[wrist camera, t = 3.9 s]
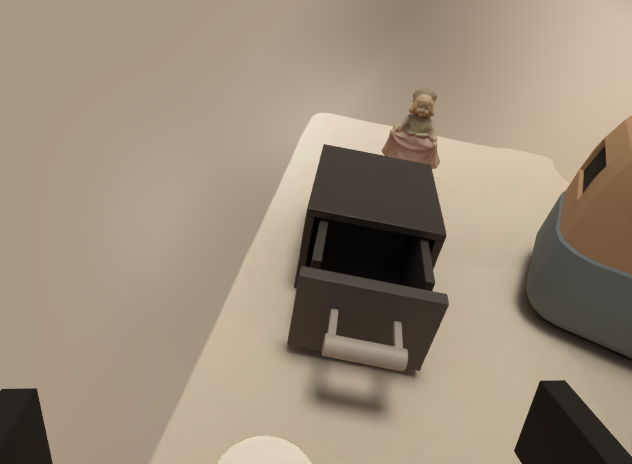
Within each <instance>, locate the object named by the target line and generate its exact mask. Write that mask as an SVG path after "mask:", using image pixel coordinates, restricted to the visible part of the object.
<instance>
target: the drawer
mask: <svg viewBox="0 0 632 464" xmlns="http://www.w3.org/2000/svg"><path fill="white" fill-rule="evenodd" d="M434 285H435V280H434V273H433V267H432V261H431V255H430V249H429V242H428V239H427V238H422V237H417V236H412V235H406V234H401V233H396V232H391V231H386V230H381V229H375V228H370V227H365V226H360V225H355V224H350V223H345V222H339V221H334V220H329V219H324V218H320V222H319V227H318V232H317V237H316V242H315V247H314V252H313V257H312V262H311V267H305V266H301V270H300V274H299V279H298V285H297V291H296V296H295V302H294V308H293V314H292V319H291V325H290V331H289V337H288V343H287V345H291V346H296V347H301V348H306V349H311V350H316V351H321V352H322V356H326V357H331V358H336V359H342V360H347V361H352V362H357V363H362V364H367V365H372V366H377V367H382V368H387V369H392V370H397V371H402V372H403V371H405V369H406V368H407V369H412V370H417V371H420V368H421V366H422V364H423V362H424V359H425V357H426V355H427V353H428V350H429V348H430V346H431V344H432V341H433V339H434V337H435V335H436V332H437V330H438V328H439V326H440V323H441V321H442V319H443V317H444V314H445V312H446V310H447V308H448V305H449V303H448V298H447V294H443V293H438V292H433V291H432V290H433V287H434Z"/></svg>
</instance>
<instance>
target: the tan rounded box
mask: <svg viewBox="0 0 632 464" xmlns="http://www.w3.org/2000/svg"><path fill="white" fill-rule="evenodd" d="M526 290H527V295H528V298H529V301H530V303H531V305H532V307H533V308H534V309H535V310H536V311H537V312H538V313H539V315H540V316H541V317H543V318H544V319H546V320H548V321H549V322H551V323H553V324H554V325H556V326H558V327H560V328H563V329H565V330H567V331H570V332H572V333H574V334H576V335H579V336H581V337H583V338H586V339H588V340H590V341H593V342H595V343H597V344H599V345H602V346H604V347H606V348H609V349H611V350H613V351H616V352H618V353H620V354H622V355H625V356H627V357H629V358H632V116H630V117H629V118H627V119H626V120H625V121H624V122H623V123H621V124H620V125H619V126H618V127H617V128H616V129H614V130H613V131H612V132H611V133H610V134H609V135H608V136H606V137H605V138H604V139H603V140H602V141H601V142H600V144H599V145H598V146H597V147H596V148H595V149H594V151H593V152H592V153H591V155H590V156H589V157H588V159H587V160H586V161H585V163H584V164H583V165H582V167H581V168H580V170H579V171H578V173H577V174H576V176H575V177H574V179H573V181H572V182H571V184H570V185H569V187H568V188H567V190H566V191H564V192H563V193H562V194H561V195H560V197H559V199H558V200H557V202H556V204H555V205H554V207H553V208H552V210H551V212H550V213H549V215H548V217H547V218H546V220H545V222H544V223H543V225H542V226H541V228H540V230H539V231H538V233H537V236H536V240H535V245H534V249H533V254H532V258H531V263H530V267H529V271H528V277H527V283H526Z"/></svg>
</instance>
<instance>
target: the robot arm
mask: <svg viewBox="0 0 632 464" xmlns="http://www.w3.org/2000/svg"><path fill="white" fill-rule="evenodd" d="M514 452H515V453H516V455H517V457H518V458H519V460H520V462H521V463H522V464H632V457H631V456H630V454H629V453H628V452H627V451H626V450H625V449H624V448H623V446H622V445H621V444H620V443H619V442H618V441H617V440H616V438H615V437H614V436H613V435H612V434H611V433H610V431H609V430H608V429H607V428H606V427H605V426H604V425H603V423H602V422H601V421H600V420H599V419H598V418H597V417H596V415H595V414H594V413H593V412H592V411H591V410H590V409H589V407H588V406H587V405H586V404H585V403H584V402H583V401H582V399H581V398H580V397H579V396H578V395H577V394H576V393H575V391H574V390H573V389H572V388H571V387H570V386H569V385H568V383H567V382H566V381H565V380H562V381H540V383H539V385H538V388H537V391H536V393H535V396H534V399H533V401H532V404H531V407H530V409H529V412H528V415H527V418H526V420H525V423H524V426H523V428H522V431H521V434H520V436H519V439H518V442H517V444H516V447H515V450H514ZM0 464H52V459H51V454H50V449H49V444H48V440H47V435H46V430H45V425H44V421H43V416H42V411H41V407H40V402H39V397H38V393H37V389H2V390H1V391H0Z"/></svg>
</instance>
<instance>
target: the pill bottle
mask: <svg viewBox="0 0 632 464" xmlns="http://www.w3.org/2000/svg"><path fill="white" fill-rule="evenodd" d="M216 464H312V463H311V461H310V460H309V458H308V457H307V456H306V455H305V453H304V452H302V450H301V449H299V448H298V447H297V446H295V445H294V444H292V443H291V442H289V441H287V440H284V439H281V438H278V437H273V436H256V437H251V438H247V439H245V440H242V441H240V442H238V443H237V444H235V445H233V446H232V447H231V448H229V449H228V450H227V451H226V452H225V453H224V454H223V455H222V457H221V458H220V459H219V460H218V462H217V463H216Z"/></svg>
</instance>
